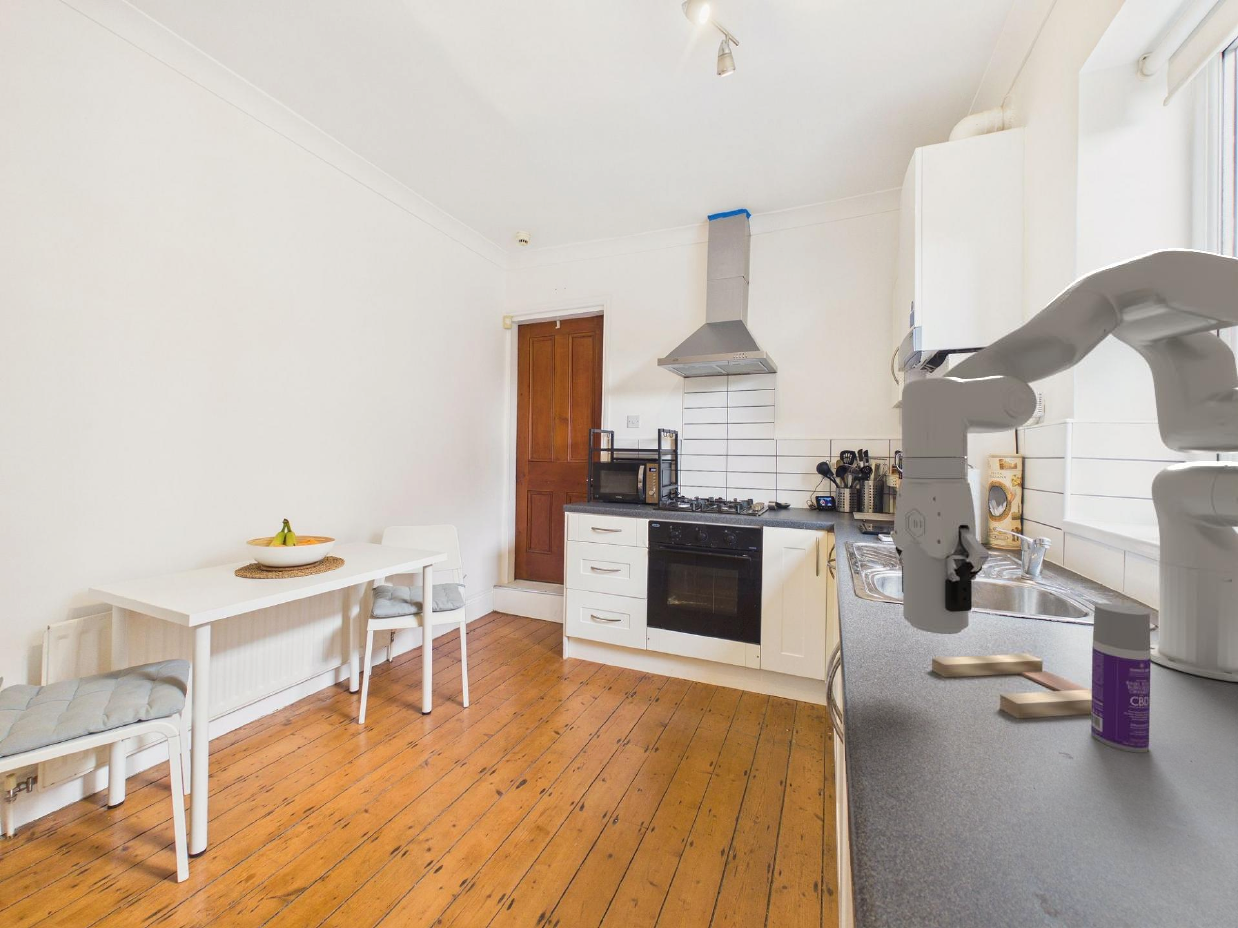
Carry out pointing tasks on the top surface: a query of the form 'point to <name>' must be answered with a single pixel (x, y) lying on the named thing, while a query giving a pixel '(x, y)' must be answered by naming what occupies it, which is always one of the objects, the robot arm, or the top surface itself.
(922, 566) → the can
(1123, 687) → the container
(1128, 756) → the top surface
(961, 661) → the channel
